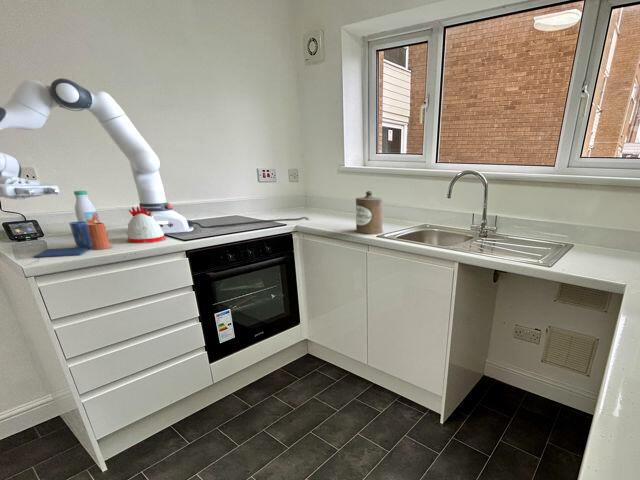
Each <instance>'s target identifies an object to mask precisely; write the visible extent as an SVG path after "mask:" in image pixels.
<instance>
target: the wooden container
mask: <svg viewBox="0 0 640 480" xmlns="http://www.w3.org/2000/svg"><path fill="white" fill-rule="evenodd" d="M355 231H356V232H357V233H359V234H379V233H380V234H381V233H382V232H383V198H381V197H374V196H373V192H372V191H370V190H367V191H366V192H365V196H363V197H356V198H355Z"/></svg>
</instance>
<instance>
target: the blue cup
mask: <svg viewBox="0 0 640 480" xmlns="http://www.w3.org/2000/svg"><path fill="white" fill-rule="evenodd" d="M68 224H69V228H70V231H71V234H72V238H73V240H74V244H75V246H76V247H75V248H79V247H90V248H93V247H92V244H91V240H90V237H89V233H88V230H87V226H86V224H88V222H86V221H78V220H77V221H70V222H68Z"/></svg>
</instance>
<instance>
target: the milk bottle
mask: <svg viewBox="0 0 640 480" xmlns="http://www.w3.org/2000/svg"><path fill="white" fill-rule="evenodd" d="M73 194H74V197H75V204H74V212H75V217H76V220H77V222H78V221H86V222H88V223H98V222H99V223H101V222H100V218H99V215H98V211H97V209H96V207H95V205H94V204H93V203H92V202H91V200H90V198H89V195H88V191H87V190H74V191H73Z"/></svg>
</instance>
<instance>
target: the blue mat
mask: <svg viewBox="0 0 640 480" xmlns="http://www.w3.org/2000/svg"><path fill="white" fill-rule="evenodd" d="M90 249H91V247H79V248H77V247H61V248H47V249H45V250H44V251H41V252H40V253H37V254H36V255H34V258H35V259H37V258H39V259H40V258H54V257H56V258H57V257H70V256H72V257H73V256H74V257H75V256H81V255H82V254H84V253H85V252H87V251H88V250H90Z"/></svg>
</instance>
